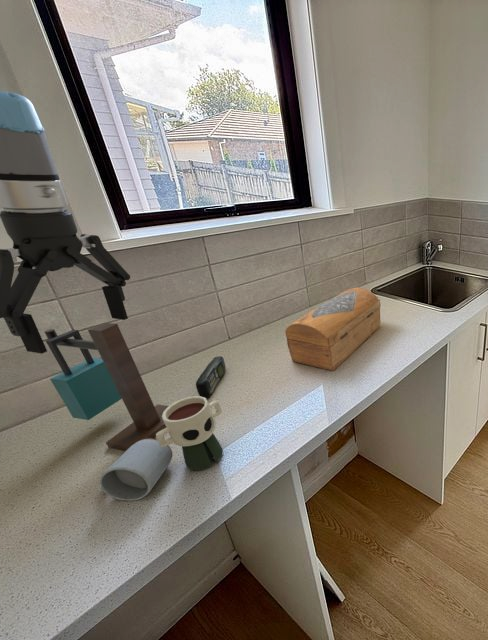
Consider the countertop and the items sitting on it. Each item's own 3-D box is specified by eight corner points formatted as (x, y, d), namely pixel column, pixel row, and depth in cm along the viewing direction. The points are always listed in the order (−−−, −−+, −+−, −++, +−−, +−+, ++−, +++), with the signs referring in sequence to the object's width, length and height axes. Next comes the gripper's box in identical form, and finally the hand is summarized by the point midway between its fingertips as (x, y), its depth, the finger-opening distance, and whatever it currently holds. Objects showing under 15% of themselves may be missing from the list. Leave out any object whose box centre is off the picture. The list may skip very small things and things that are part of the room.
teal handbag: (72, 417, 70) (29, 344, 62) (111, 394, 77) (76, 325, 69) (88, 420, 69) (46, 346, 62) (126, 396, 76) (92, 327, 69)
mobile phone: (205, 383, 81) (225, 350, 94) (192, 384, 80) (213, 351, 93) (211, 399, 83) (230, 365, 96) (198, 400, 83) (218, 366, 96)
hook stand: (67, 441, 71) (0, 335, 59) (122, 404, 81) (74, 308, 70) (137, 452, 68) (80, 344, 57) (185, 412, 78) (145, 314, 67)
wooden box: (343, 319, 124) (339, 284, 118) (383, 326, 119) (380, 290, 113) (286, 360, 99) (277, 318, 93) (333, 372, 93) (327, 328, 87)
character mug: (186, 488, 61) (161, 434, 55) (166, 471, 64) (141, 419, 58) (242, 448, 69) (226, 398, 63) (222, 435, 72) (205, 386, 67)
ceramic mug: (181, 461, 66) (167, 431, 63) (156, 498, 59) (139, 467, 55) (122, 467, 65) (105, 437, 61) (90, 506, 57) (68, 475, 54)
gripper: (-65, 222, 39) (12, 373, 48) (133, 205, 62) (162, 310, 71) (-117, 216, 40) (-32, 366, 49) (98, 201, 63) (130, 305, 71)
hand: (83, 333), depth 60 cm, fingers open, 13 cm apart
